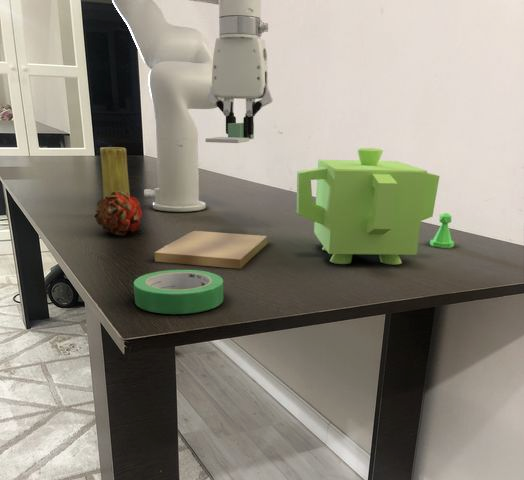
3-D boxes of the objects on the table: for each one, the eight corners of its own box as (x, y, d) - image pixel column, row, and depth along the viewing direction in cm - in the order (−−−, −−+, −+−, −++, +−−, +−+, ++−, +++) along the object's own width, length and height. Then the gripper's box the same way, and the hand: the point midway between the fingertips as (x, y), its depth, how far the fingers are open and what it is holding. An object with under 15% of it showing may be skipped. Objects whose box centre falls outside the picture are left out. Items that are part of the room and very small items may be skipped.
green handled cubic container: (287, 238, 106) (291, 142, 100) (404, 240, 108) (416, 145, 101) (303, 274, 83) (310, 152, 77) (452, 275, 85) (471, 156, 78)
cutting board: (154, 261, 89) (154, 252, 88) (194, 238, 105) (193, 230, 104) (240, 269, 86) (240, 259, 85) (267, 244, 102) (267, 236, 101)
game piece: (453, 248, 102) (459, 215, 100) (429, 246, 103) (434, 213, 101) (453, 243, 106) (458, 211, 103) (430, 242, 107) (434, 209, 104)
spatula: (234, 138, 116) (234, 122, 115) (262, 139, 115) (262, 123, 114) (205, 142, 99) (204, 123, 98) (238, 143, 98) (238, 124, 97)
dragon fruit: (118, 249, 102) (116, 244, 113) (155, 219, 103) (149, 218, 114) (86, 210, 99) (87, 209, 110) (123, 180, 100) (121, 183, 111)
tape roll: (126, 292, 74) (124, 273, 72) (205, 284, 78) (205, 265, 77) (147, 320, 64) (146, 298, 63) (236, 308, 69) (236, 287, 68)
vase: (118, 220, 119) (112, 149, 113) (97, 217, 122) (91, 147, 116) (138, 216, 124) (134, 148, 118) (118, 213, 127) (113, 146, 121)
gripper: (287, 33, 104) (283, 139, 111) (204, 33, 107) (206, 136, 115) (279, 27, 97) (276, 140, 105) (190, 28, 101) (193, 138, 108)
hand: (239, 137), depth 109 cm, fingers closed on spatula, 2 cm apart
